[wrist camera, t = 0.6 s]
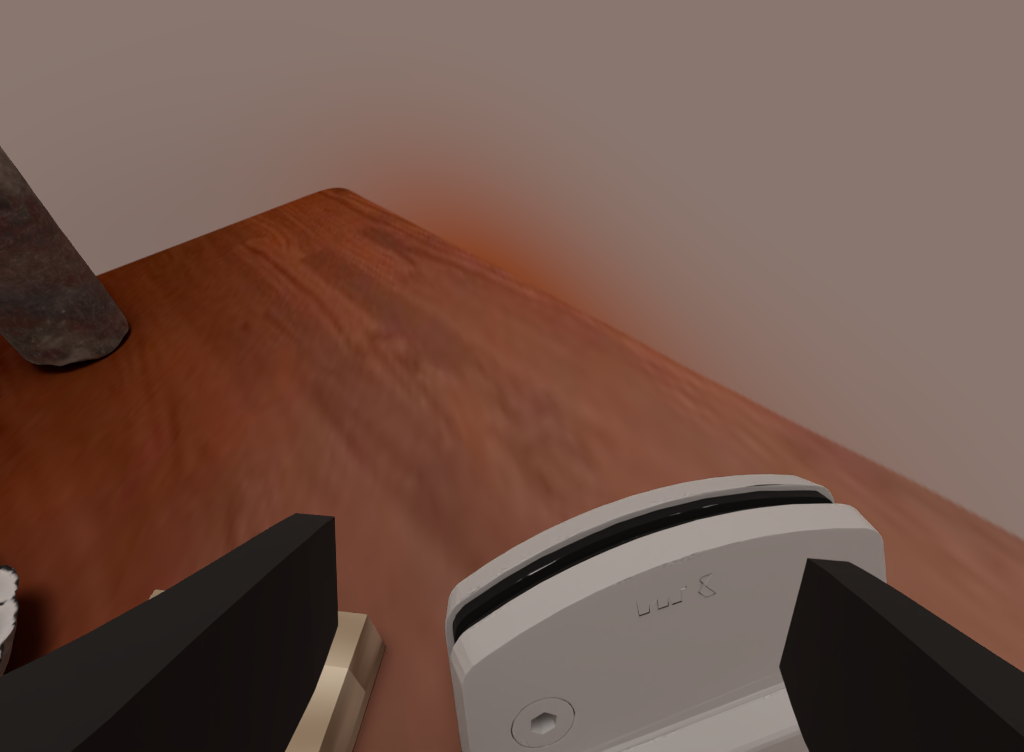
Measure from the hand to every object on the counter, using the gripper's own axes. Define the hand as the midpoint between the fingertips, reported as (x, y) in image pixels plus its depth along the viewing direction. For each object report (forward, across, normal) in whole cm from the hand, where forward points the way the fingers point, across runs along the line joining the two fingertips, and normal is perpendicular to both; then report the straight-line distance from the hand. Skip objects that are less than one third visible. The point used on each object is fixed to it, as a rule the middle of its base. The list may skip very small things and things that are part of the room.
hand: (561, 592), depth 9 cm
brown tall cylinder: (+35, +37, +8) cm, 52 cm away
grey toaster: (+11, -6, +13) cm, 18 cm away
